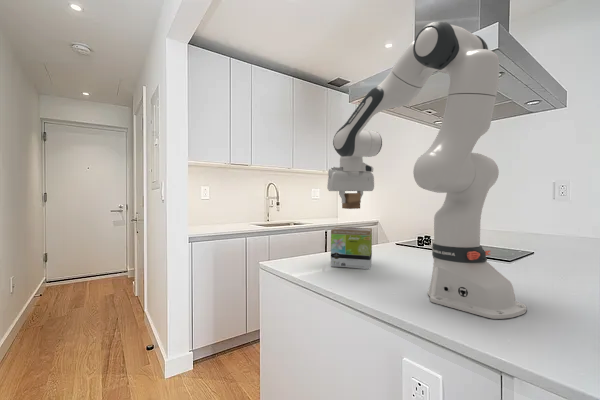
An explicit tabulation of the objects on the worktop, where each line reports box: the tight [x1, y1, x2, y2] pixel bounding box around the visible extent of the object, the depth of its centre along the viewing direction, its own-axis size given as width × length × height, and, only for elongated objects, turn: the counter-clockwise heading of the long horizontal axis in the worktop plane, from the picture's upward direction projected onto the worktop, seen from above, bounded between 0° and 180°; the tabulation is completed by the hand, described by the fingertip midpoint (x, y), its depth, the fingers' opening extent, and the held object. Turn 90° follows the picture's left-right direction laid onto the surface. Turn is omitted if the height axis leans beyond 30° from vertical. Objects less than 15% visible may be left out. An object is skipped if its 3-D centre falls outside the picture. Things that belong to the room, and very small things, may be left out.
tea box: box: [330, 226, 373, 270], centre depth 122 cm, size 15×10×15 cm, turn 73°
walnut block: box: [341, 192, 361, 210], centre depth 122 cm, size 5×5×6 cm
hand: (351, 203), depth 122 cm, fingers closed on walnut block, 5 cm apart
